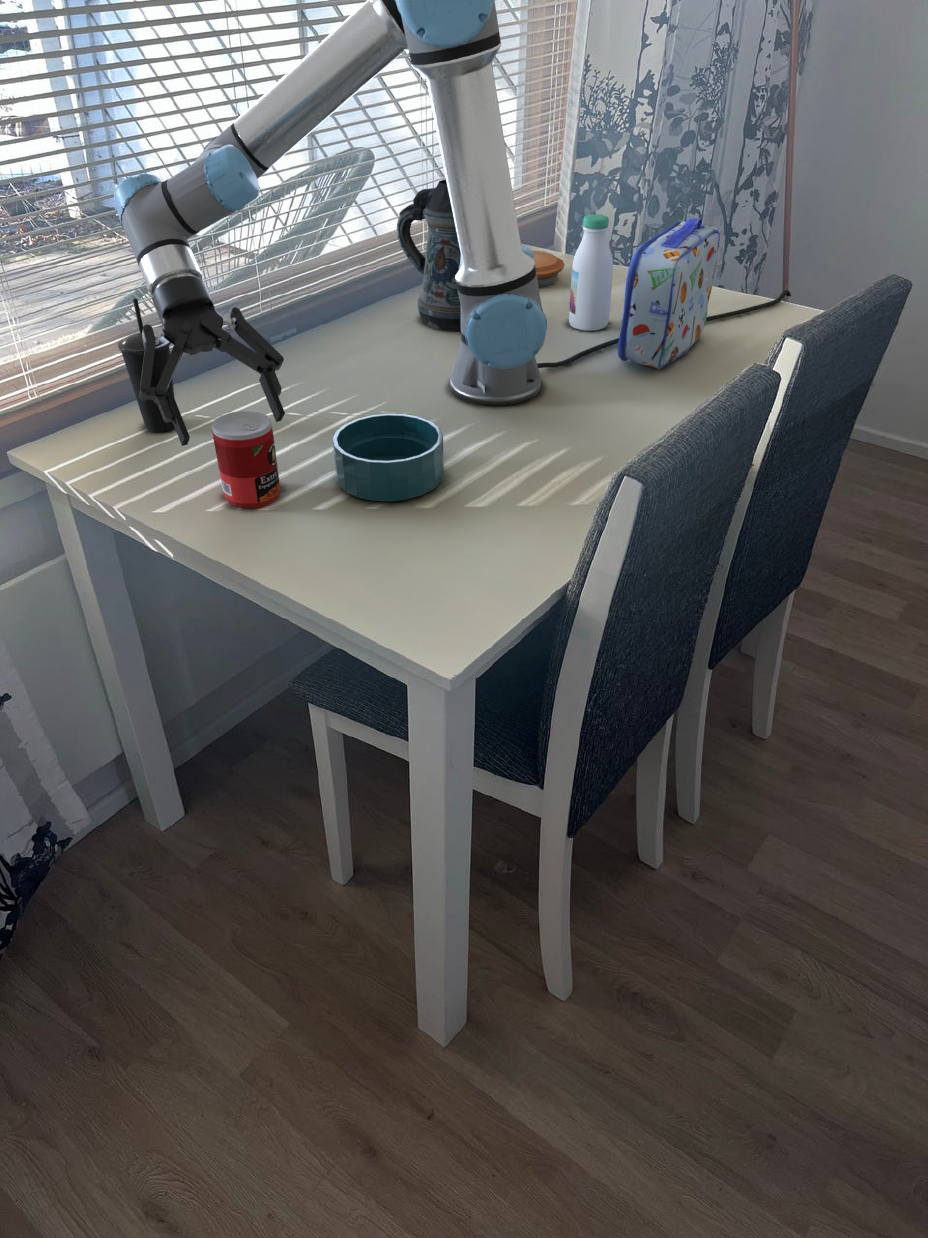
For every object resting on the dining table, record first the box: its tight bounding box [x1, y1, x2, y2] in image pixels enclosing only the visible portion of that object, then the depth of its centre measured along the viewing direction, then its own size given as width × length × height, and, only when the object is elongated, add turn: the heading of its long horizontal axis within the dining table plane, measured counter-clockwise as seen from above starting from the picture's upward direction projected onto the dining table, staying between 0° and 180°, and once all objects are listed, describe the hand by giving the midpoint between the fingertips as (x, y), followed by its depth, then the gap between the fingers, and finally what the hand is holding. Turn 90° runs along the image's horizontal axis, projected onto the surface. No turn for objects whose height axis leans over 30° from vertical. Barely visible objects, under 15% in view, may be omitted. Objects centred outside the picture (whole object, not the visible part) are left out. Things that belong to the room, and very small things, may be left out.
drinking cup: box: [117, 298, 176, 433], centre depth 146 cm, size 8×8×20 cm
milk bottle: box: [568, 213, 614, 332], centre depth 181 cm, size 8×8×20 cm
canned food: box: [211, 410, 281, 509], centre depth 131 cm, size 8×8×11 cm
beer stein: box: [396, 179, 461, 332], centre depth 183 cm, size 16×19×25 cm
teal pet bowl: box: [332, 413, 445, 502], centre depth 136 cm, size 15×15×6 cm
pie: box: [532, 250, 566, 288], centre depth 208 cm, size 16×16×5 cm
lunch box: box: [617, 217, 721, 370], centre depth 170 cm, size 28×10×22 cm, turn 152°
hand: (234, 429), depth 131 cm, fingers open, 13 cm apart
